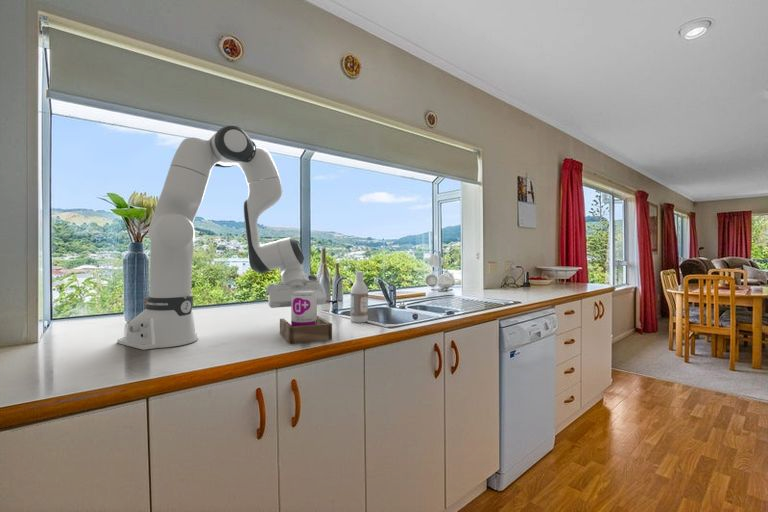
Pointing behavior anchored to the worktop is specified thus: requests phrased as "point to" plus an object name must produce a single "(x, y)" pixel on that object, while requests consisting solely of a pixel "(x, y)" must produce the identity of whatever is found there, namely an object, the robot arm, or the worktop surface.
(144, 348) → the robot arm
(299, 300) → the supplement can
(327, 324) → the bay
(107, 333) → the worktop surface
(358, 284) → the bath foam
